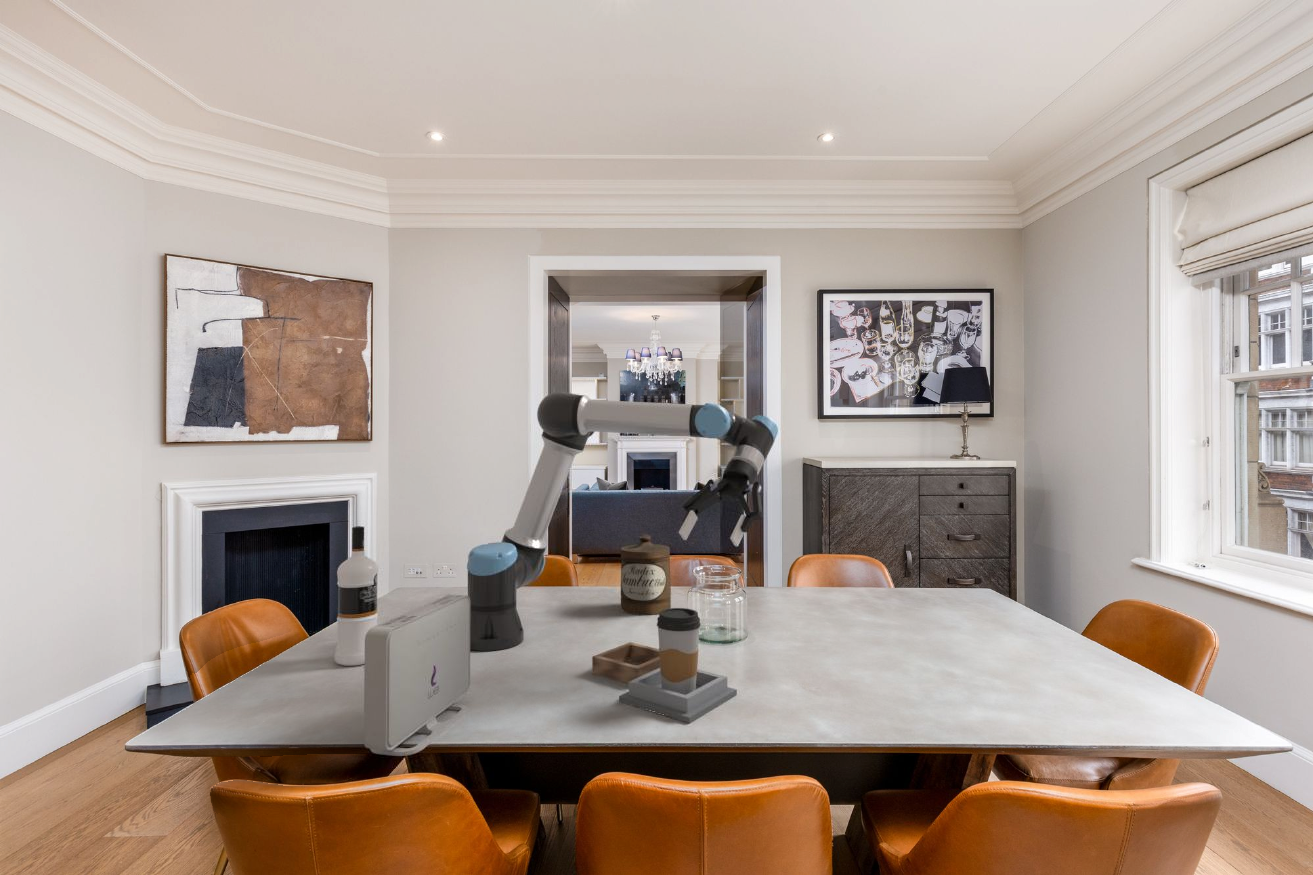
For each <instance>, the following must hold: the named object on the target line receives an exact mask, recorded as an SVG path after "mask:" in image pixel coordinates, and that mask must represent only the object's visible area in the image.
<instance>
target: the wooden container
mask: <svg viewBox="0 0 1313 875" xmlns="http://www.w3.org/2000/svg"><path fill="white" fill-rule="evenodd" d="M638 539H639V541H640V542H639V543H637V544H629V545H624V546H622V547H621V548H620V561H621V562H620V564H621V565H620V610H621V611H622V612H624V613H626V612H627V613H626V614H629V613H630V615H636V614H638V615H637V616H650V615H653V614H654V615H659V614H660V611H662V610H665V609H670V608H671V607H672V605H671V604H672V600H671V599H672V598H671V596H672V595H671V594H672V587H671V586H672V584H671V582H672V581H671V580H672V579H671V577H672V576H671V561H670V560H671V559H670V555H671V553H670V546H667V545H663V544H659V543H658V544H657V543H656V544H655V543H652V542H651V539H652V538H651V535H649V534H646V533H644V534H641V535H640V536H639V538H638Z"/></svg>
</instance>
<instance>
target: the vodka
mask: <svg viewBox="0 0 1313 875" xmlns="http://www.w3.org/2000/svg"><path fill="white" fill-rule="evenodd" d="M378 571H379V566H378V563H377V562H376V561H375V560H373V559H371V558H370V557H368V556H367V555H365V526H361V525H356V526H353V527H352V528H351V556H350V557H348V558H347V559H345V560H344V561H343V562H342V563H340V565H339V566H338V568H337V571H336V576H337V582H336V583H337V585H338V586H337V587H338V590H337V591H338V594H337V595H338V598H337V599H338V601H337V602H338V604H337V605H338V606H337V609H338V610H337V612H338V614H337V617H336V621H337V639H336V640H337V641H336V648H335V650H334V658H333V659H334V661H335V663H336V664H337V665H339V666H342V667H356V666H363V665H364V663H365V636H366V634H367V632H368V630H369V629H370V628H372V627H374V626H376V625H378V616H379V613H378Z"/></svg>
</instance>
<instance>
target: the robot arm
mask: <svg viewBox="0 0 1313 875" xmlns="http://www.w3.org/2000/svg"><path fill="white" fill-rule="evenodd" d="M536 416H537V422H538V424H539V426H540V428H541V429H542V433H541V438H542V441H543V442H544V443H543V444H544V445H543V447H542V450H541V453H540V455H539V458H538V461H537V462H536V463H537V464H536V467H535V468H534V471H533V473H532V477H531V479H530V482H529V485H528V487H527V491H526V492H525V495H524V498H523V499H522V503H521V505H520V509H519V511H518V514H517V516H516V520H515V522H514V525H513V527H511V528H508V529H507V530H505V532H504V534H503V537H502V539H501V542H500V541H499V542H489V543H486V544H480V545H477V546H475V547H474V548H472V549H471V550H470V551H469V553H468V558H467V563H466V564H467V565H466V569H467V596H469V598H470V651H477V652H479V651H480V652H482V651H483V652H485V651H488V652H489V651H500V650H505V649H510V648H512V647H515V646H518V645H519V644H521V643H523V642H524V640H525V639H524V637H525V635H524V633H525V631H524V628H523V624H522V622H521V618H520V616H519V611H518V608H517V590H518V589H520V588H522V587H525V586H526V585H529V584H531V583H532V582H534V581H535V580H537V578H539V577H540V575H541V574H542V572H543V570H544V567H545V565H546V555H545V551H546V549H547V546H548V544H547V541H546V540H545V537H546V533H547V531H548V528H549V526H550V523H551V520H552V517H553V516H554V515H553V514H554V513H555V509H556V507H557V504H558V501H559V499H560V496H561V494H562V491H563V488H564V486H565V483H566V481H567V478H568V476H569V473H570V470H571V467H572V465H573V462H574V460H575V457H576V455H579V454H581V453H582V452H584V449H585V447H586V445H587V442H588V439H589V438H590V437H592V435H594V433H599V432H600V433H616V434H631V435H632V434H634V435H653V436H654V435H656V436H672V437H673V436H674V437H691V438H706V439H716V440H719V441H721V442H723V443H726V444H728V445H730V446H732V447H735V450H734V451H733V454H732V455H731V457H730V459H729V461H728V462H727V464H726V466H725V469H724V471H723V473H722V477H721V480H720V481H719V482H716V481H714V480H713V479H709V480H708V481H707V482H706V483H705V485H704V486H703V487H702V488H701V489H700V490H698V491H697V492H696V493H695V494H694V495H693V496H692V497H690V499H688V500H687V501H686V502H685V503H683V504H682V508H683V510H684V511H685V513H686V514H685V516H684V517H683V520H682V525H681V526H680V529H679V530H678V533H679V535H680V537H681V538H682V540H683V541H687V540H688V538H689V536H690V534H691V532H692V530H693V528H694V527H695V525H696V522H697V521H698V518H699V517H698V515H700V514H702V513H703V512H705V511H706V510H708V509H709V508H711V507H712V506H714V505H715V504H717V503H722V502H723V501H724V502H728V501H731V502H737V501H738V500H739V502H740V504H741V508H742V509H743V512H744V514H741V515H740V517H739V519H738V521H737V523H736V525H735V527H734V529H733V531H732V533H731V535H730V537H729V540H730V541H731V542H732V544H733V545H734V547H739V544H740V543H741V542H742V541H741V540H742V539H743V536H744V534H745V533H748V532H749V531H750V528H751V525H752V523H754V522H755V521H756V520H757V521H762V520H763V519H764V516H763V515H764V514H763V505H762V498H761V497H762V492H763V488H762V486H761V484H760V482H759V481H756V480H757V478H758V475H759V473H760V472H761V470H762V467H763V465H764V463H765V461H766V459H767V457H768V456H769V453H770V451H771V449H772V448H773V446H774V443H775V440H776V439H777V436H778V434H779V433H778V432H779V429H778V425H777V423H776V422H775V421H774V420H773V419H772V418H770V417H769V416H767V415H760V414H759V415H755V416H753V417H752V418H751V419H749V418H745V417H742V416H741V415H739V414H736V413H734V412H731V411H730V410H727V409H726V408H725V407H723V406H721V405H720V404H716V403H715V404H714V403H710V402H706V403H704V404H692V403H691V404H690V403H689V404H688V403H687V404H686V403H685V404H684V403H667V402H649V401H648V402H647V401H646V402H643V401H641V402H640V401H626V400H625V401H624V400H623V401H621V400H602V399H601V400H600V399H591V398H590V397H589V396H588V395H585V394H584V395H583V394H576V393H571V392H567V391H566V392H565V391H555V392H552V393H549V394H547V395H546V396H545V397H544V398H542V400H541V401H540V403H539V405H538V408H537V413H536ZM749 493H751V497H752V507H753V511H751V508H750V506H749V504H748V501H747V499H746V497H745V496H746V495H748V494H749ZM718 494H719V495H718Z"/></svg>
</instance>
